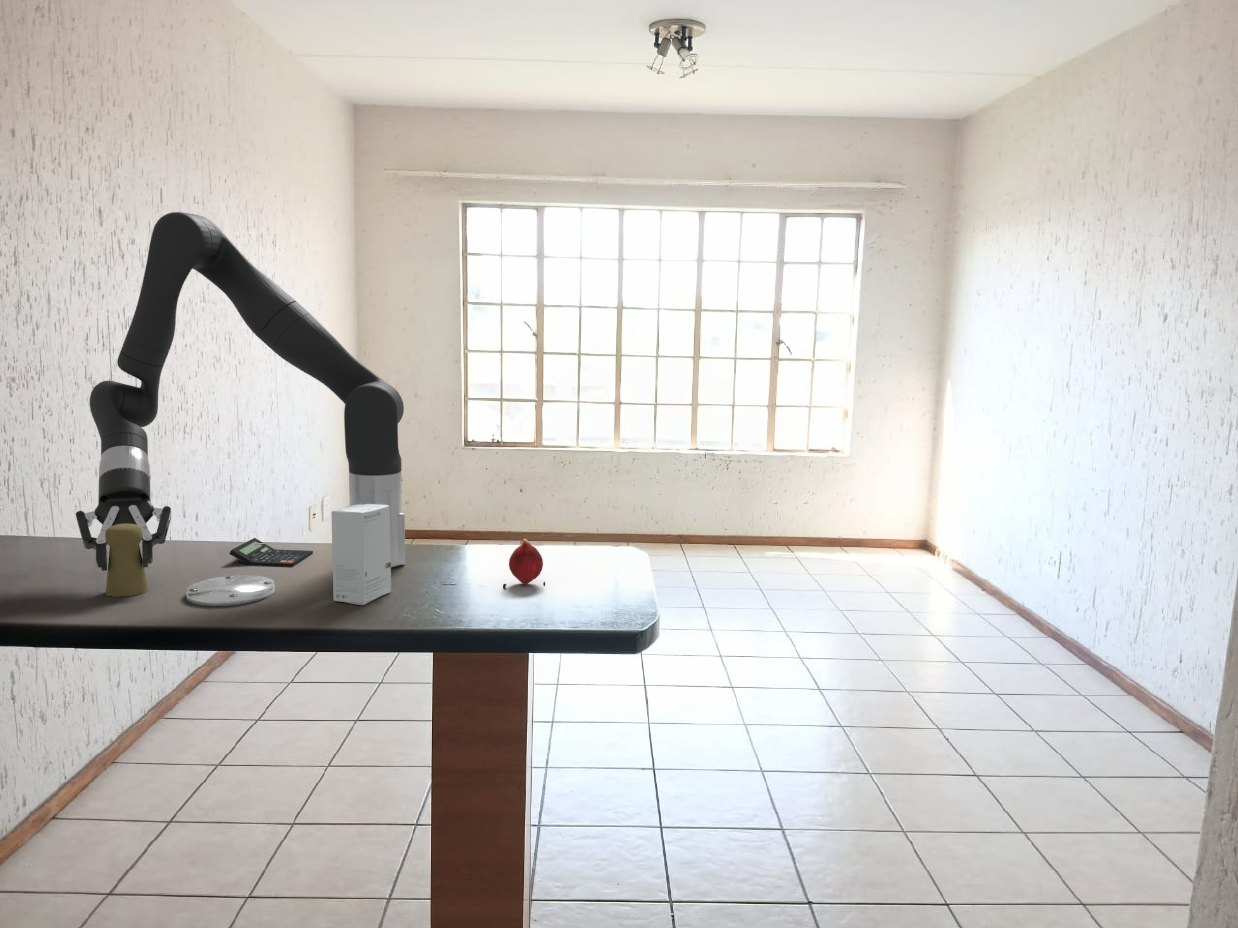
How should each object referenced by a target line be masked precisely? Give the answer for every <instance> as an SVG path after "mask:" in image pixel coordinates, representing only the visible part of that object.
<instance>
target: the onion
mask: <svg viewBox="0 0 1238 928" xmlns="http://www.w3.org/2000/svg"><path fill="white" fill-rule="evenodd" d="M543 567H544V559H543V557H542V555H541V553H540V552H539V550H538V549H537V548H536V547H535V546H534V545H532V544H531V543H530V542H529V540H528V539H527V538H523V541H522V543H521V544H520V545H519V546H518V547H516V548H515V549H514V551H512V553H511V555H510V557H509V560H508V568H509V571H510V573H511V574H512V575H513V576H514V578H516V579H517V580H518V581H519V582H520V583H521V584H522V585H526V586H527V585H528V584H530V583H532V582H533V581H534V580H536V579H537V578H538V577H539V576H540V575H541V572H542V570H543Z"/></svg>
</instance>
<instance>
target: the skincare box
mask: <svg viewBox="0 0 1238 928" xmlns="http://www.w3.org/2000/svg"><path fill="white" fill-rule="evenodd" d="M330 513H331V550H332V552H331V554H332V591H333V592H332V595H333V598H332V599H333V601H334V602H341V603H342V602H343V603H347V604H353V605H359V606H365V605H367V604H368V603H370V602H372V601H374V600H376V599H378V598H380V597H383V596H384V595H387V594H389V593H391V591H392V573H391V572H392V567H391V555H390V506H389V505H378V504H362V503H361V504H357V505H352V506H349V505H347V506H344V507H341V508H338V509H334V510H331V511H330Z"/></svg>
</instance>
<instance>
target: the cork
mask: <svg viewBox="0 0 1238 928" xmlns="http://www.w3.org/2000/svg"><path fill="white" fill-rule="evenodd" d="M142 537H143V533H142V530H141V528H140V527H139V526H138V525H136V524H118V525H113V526H111V527H109V528H108V529H107V531H106V533H105V539H106V542H107V544H108V546H109V552H108V553H109V554H108V561H107V575H106V585H105V595H106V596H107V595H108V597H110V596H112V597H111V598H122V597H121V596H129V597H132V596H131V595H135V596H138V595H137V594H140V593H143V594H145V593H146V592H145V591H147V590H148V591H149V586H148V585H149V584H148V581H147V576H146V575H147V574H146V571H145V567H144V568H143V561H142V553H141V552H142V551H141V546H140V543H141V542H142ZM148 591H147V592H148ZM144 592H145V593H144ZM140 595H141V594H140ZM119 596H120V597H119Z"/></svg>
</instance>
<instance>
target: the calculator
mask: <svg viewBox="0 0 1238 928" xmlns="http://www.w3.org/2000/svg"><path fill="white" fill-rule="evenodd" d="M253 543H264V542H263V541H262V540H260V539H257V538H256V537H253V538H251V539H250V540H247V541H246V542H244V543H241V544H240V545H237V546H236V547H235V548H232V549H230V551H229V555H231V556H232V557H234V558H236V559H238V560H239V561H241V562H243V563H245V564H247V565H249V566H259V565H262V567H264V566H265V567H284V566H286V567H288V568H289V567H290V568H294V567H295V566H297V565H298V564H299V563H301V562H303V561H304V560H306V559H307V558H309V557H310V556H311V555H314V551H313V550H300V549H299V550H297V549H278V548H277V549H276V548H273V547H272V546H269V545H268V544H267V543H265V544H253ZM286 567H285V568H286Z"/></svg>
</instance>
